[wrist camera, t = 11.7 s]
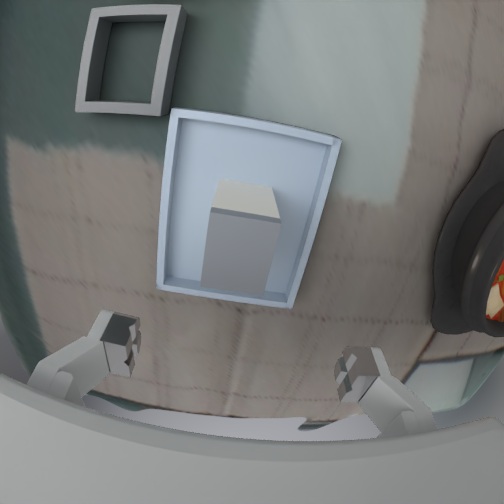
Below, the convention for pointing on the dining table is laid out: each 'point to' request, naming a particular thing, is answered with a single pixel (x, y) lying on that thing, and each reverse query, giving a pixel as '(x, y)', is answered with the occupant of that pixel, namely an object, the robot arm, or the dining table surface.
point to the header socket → (98, 47)
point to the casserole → (473, 253)
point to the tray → (248, 171)
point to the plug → (240, 238)
